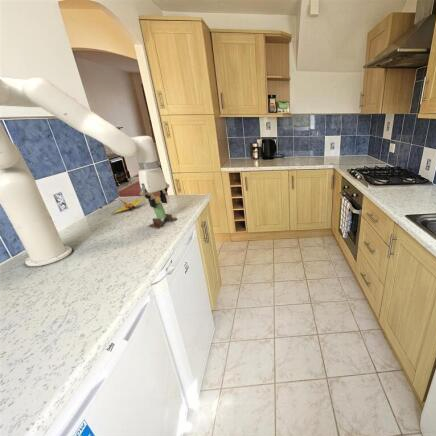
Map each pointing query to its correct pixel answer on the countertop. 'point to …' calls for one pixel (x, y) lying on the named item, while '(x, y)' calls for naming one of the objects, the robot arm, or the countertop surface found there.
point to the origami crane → (128, 205)
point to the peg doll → (159, 207)
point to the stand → (158, 223)
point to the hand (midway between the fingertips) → (159, 204)
